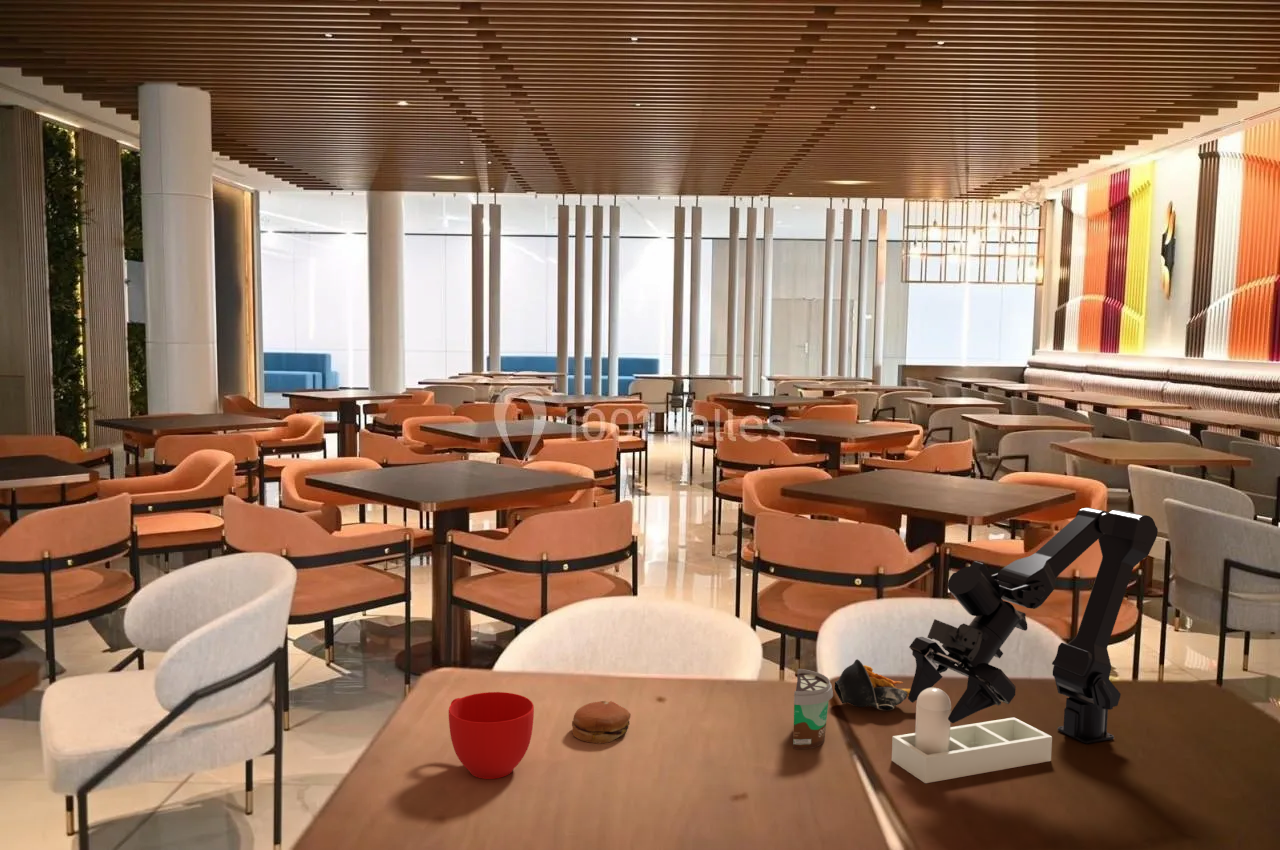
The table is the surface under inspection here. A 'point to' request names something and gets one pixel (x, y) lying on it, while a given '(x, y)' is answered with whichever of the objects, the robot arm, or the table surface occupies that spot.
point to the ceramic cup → (491, 732)
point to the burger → (600, 722)
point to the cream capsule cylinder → (932, 721)
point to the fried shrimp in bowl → (868, 688)
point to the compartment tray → (975, 750)
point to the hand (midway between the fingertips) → (929, 710)
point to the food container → (810, 709)
